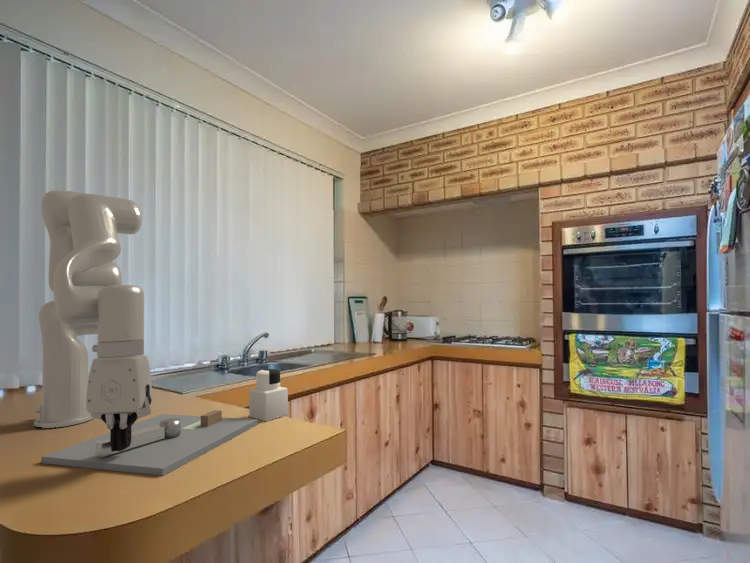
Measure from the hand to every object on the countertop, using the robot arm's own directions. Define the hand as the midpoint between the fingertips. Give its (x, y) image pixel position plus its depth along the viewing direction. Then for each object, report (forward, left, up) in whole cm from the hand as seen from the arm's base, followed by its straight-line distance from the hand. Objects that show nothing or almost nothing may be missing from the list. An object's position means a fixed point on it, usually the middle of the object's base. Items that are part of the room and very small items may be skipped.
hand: (120, 448), depth 77 cm
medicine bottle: (+11, +34, -3) cm, 36 cm away
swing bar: (-1, +6, -1) cm, 6 cm away
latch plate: (-2, +12, -3) cm, 12 cm away
